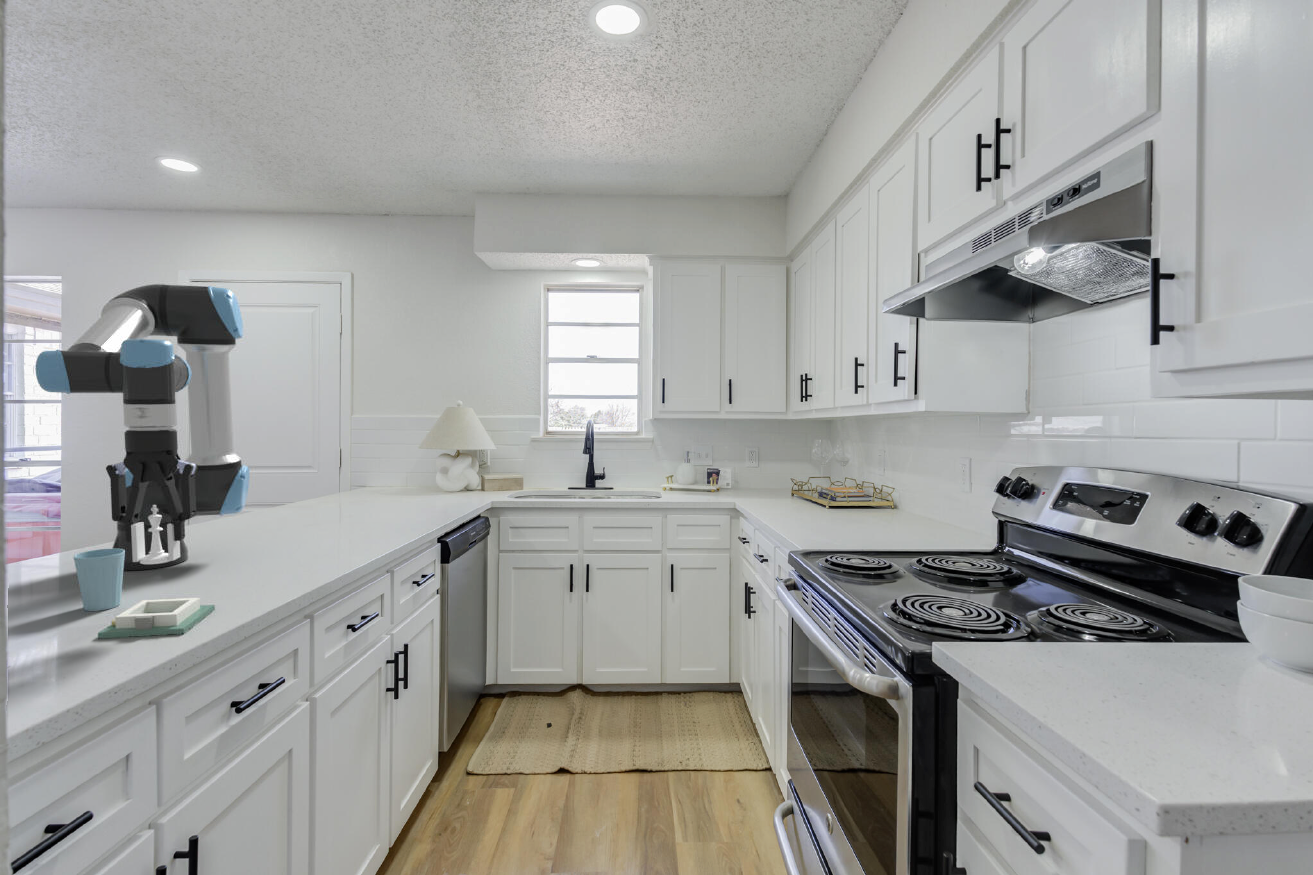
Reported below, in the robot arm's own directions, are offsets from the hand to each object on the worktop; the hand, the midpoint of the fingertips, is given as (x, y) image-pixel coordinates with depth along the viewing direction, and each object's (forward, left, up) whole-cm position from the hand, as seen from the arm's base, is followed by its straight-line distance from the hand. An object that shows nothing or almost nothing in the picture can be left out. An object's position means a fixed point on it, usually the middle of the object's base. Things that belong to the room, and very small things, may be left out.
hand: (156, 559), depth 126 cm
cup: (-12, -15, -12) cm, 23 cm away
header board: (0, 0, -12) cm, 12 cm away
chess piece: (0, 0, -1) cm, 1 cm away
